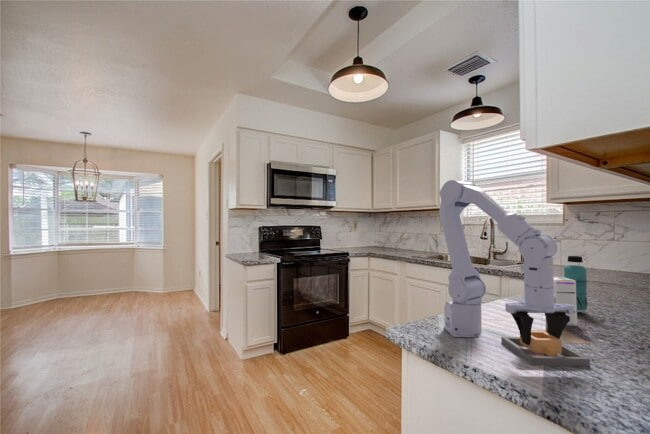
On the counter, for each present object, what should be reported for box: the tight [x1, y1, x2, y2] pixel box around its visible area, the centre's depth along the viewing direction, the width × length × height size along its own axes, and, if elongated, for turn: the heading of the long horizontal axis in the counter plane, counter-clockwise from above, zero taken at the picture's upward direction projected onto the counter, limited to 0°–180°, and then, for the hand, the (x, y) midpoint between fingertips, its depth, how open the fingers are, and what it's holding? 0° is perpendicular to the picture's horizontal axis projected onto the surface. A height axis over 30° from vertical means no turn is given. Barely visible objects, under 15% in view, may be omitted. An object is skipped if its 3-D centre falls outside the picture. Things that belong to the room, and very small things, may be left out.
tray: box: [501, 336, 591, 371], centre depth 70 cm, size 12×12×2 cm
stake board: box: [531, 320, 592, 345], centre depth 80 cm, size 10×9×6 cm
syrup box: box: [554, 276, 578, 326], centre depth 92 cm, size 6×6×14 cm
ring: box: [519, 330, 563, 357], centre depth 70 cm, size 7×6×3 cm
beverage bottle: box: [563, 255, 588, 311], centre depth 106 cm, size 6×7×20 cm
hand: (539, 343), depth 70 cm, fingers closed on ring, 5 cm apart
